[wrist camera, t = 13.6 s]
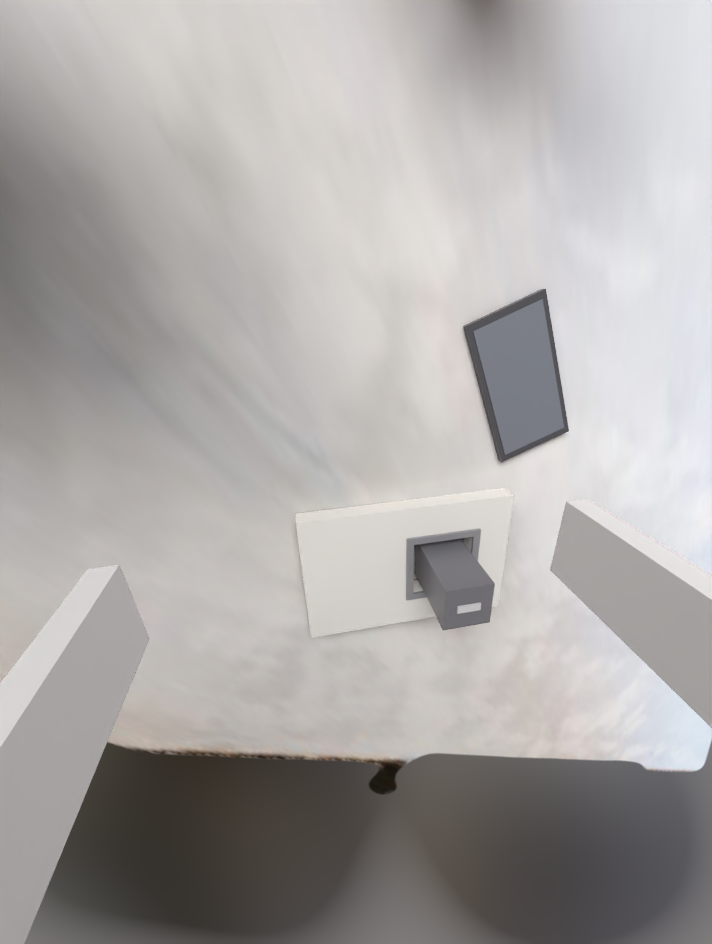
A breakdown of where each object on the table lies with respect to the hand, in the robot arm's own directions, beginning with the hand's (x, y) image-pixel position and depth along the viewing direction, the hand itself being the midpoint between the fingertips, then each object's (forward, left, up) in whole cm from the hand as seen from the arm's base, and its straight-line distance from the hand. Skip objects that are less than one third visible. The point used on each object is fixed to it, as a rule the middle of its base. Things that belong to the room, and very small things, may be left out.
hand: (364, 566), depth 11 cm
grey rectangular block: (+13, -20, -25) cm, 35 cm away
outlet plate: (+9, -20, -25) cm, 33 cm away
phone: (+21, 0, -26) cm, 33 cm away
